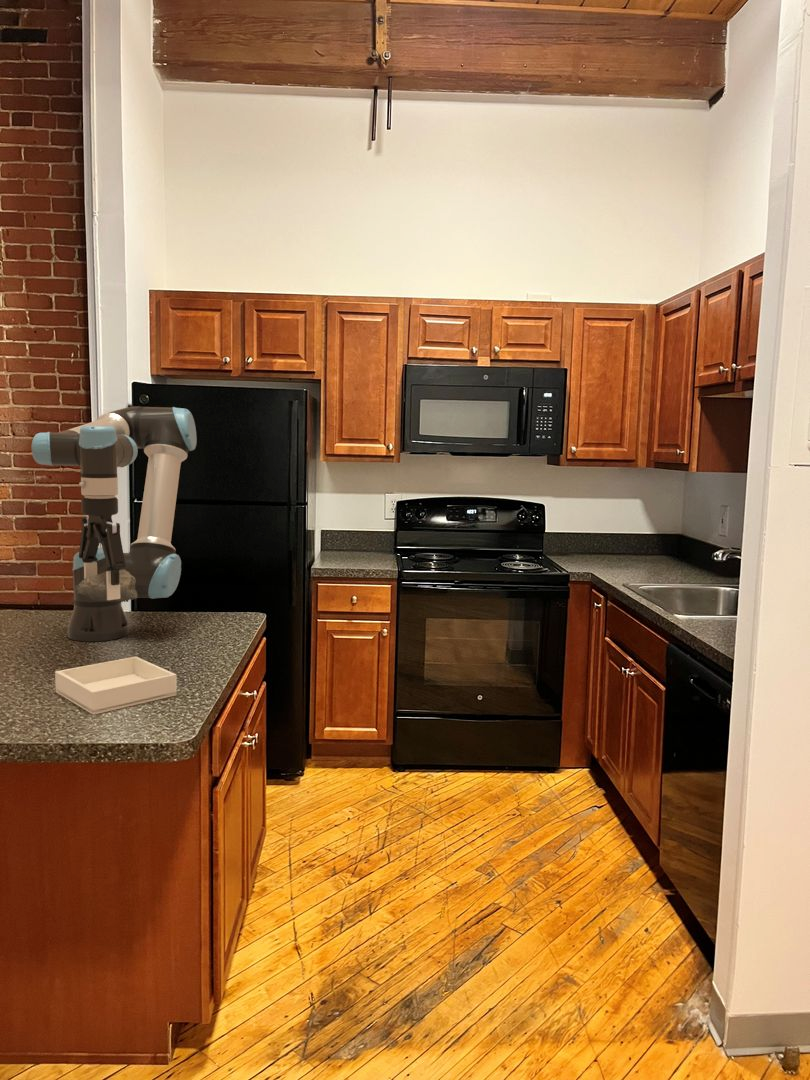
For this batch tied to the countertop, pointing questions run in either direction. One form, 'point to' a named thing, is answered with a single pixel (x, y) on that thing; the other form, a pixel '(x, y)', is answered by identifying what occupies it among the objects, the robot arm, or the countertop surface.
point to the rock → (98, 587)
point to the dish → (115, 684)
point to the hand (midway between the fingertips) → (102, 594)
